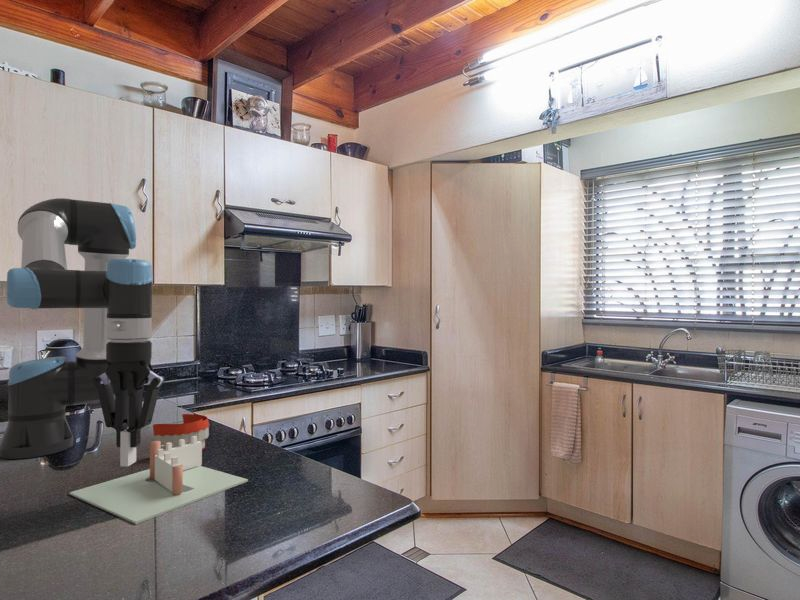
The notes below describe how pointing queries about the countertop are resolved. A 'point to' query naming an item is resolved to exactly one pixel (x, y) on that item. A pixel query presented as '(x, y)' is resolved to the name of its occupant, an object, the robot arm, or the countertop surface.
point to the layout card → (154, 493)
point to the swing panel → (168, 471)
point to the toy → (182, 430)
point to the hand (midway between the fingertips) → (128, 463)
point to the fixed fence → (178, 454)
